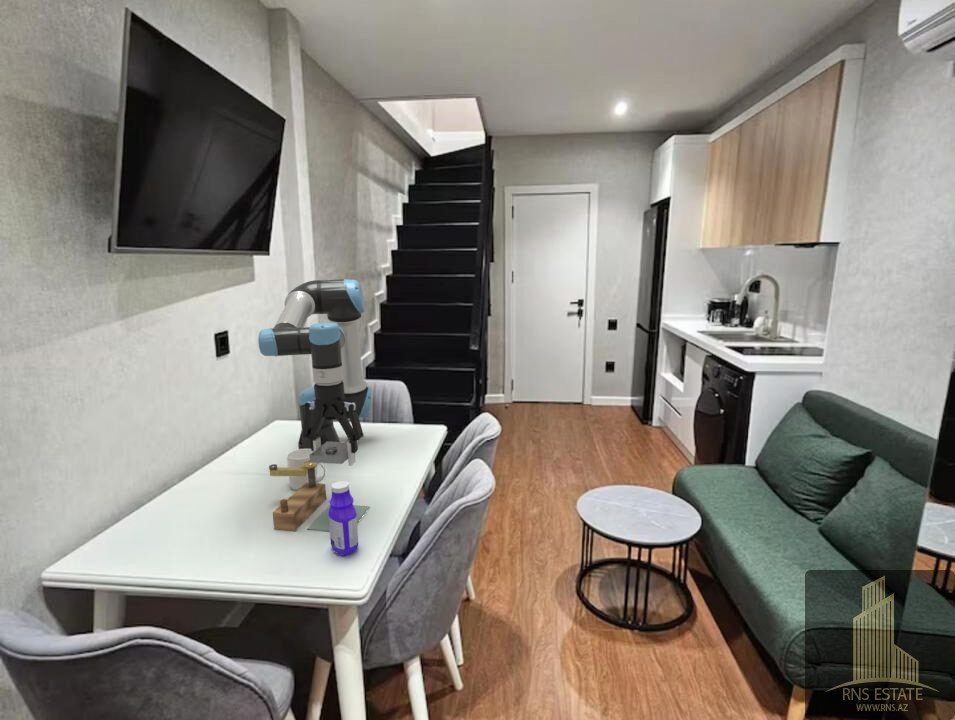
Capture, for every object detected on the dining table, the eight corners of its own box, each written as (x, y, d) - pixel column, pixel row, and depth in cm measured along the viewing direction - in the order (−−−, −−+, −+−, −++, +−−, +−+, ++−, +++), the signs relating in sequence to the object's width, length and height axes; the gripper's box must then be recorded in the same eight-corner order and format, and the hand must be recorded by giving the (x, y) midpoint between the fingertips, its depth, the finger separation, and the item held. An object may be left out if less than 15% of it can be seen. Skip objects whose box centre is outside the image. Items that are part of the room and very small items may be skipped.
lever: (319, 472, 148) (318, 460, 148) (315, 477, 145) (314, 465, 144) (273, 472, 149) (271, 460, 148) (267, 477, 146) (266, 465, 145)
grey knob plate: (327, 448, 141) (327, 439, 140) (357, 449, 139) (357, 440, 138) (310, 462, 131) (309, 452, 130) (342, 464, 129) (341, 454, 129)
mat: (331, 504, 147) (331, 503, 146) (369, 507, 144) (369, 506, 144) (307, 529, 133) (307, 528, 133) (349, 533, 131) (349, 532, 131)
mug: (319, 492, 154) (316, 460, 152) (284, 490, 156) (281, 458, 154) (332, 480, 162) (330, 449, 160) (299, 478, 165) (296, 447, 163)
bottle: (363, 549, 124) (358, 484, 120) (343, 560, 119) (338, 492, 116) (346, 539, 128) (341, 476, 125) (327, 548, 124) (321, 483, 121)
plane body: (308, 497, 151) (304, 463, 149) (326, 499, 150) (323, 464, 148) (274, 529, 134) (270, 491, 131) (294, 531, 133) (290, 492, 130)
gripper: (282, 384, 129) (291, 466, 134) (362, 386, 125) (367, 470, 130) (297, 377, 136) (305, 455, 141) (373, 379, 133) (378, 459, 137)
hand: (335, 462), depth 135 cm, fingers closed on grey knob plate, 9 cm apart
